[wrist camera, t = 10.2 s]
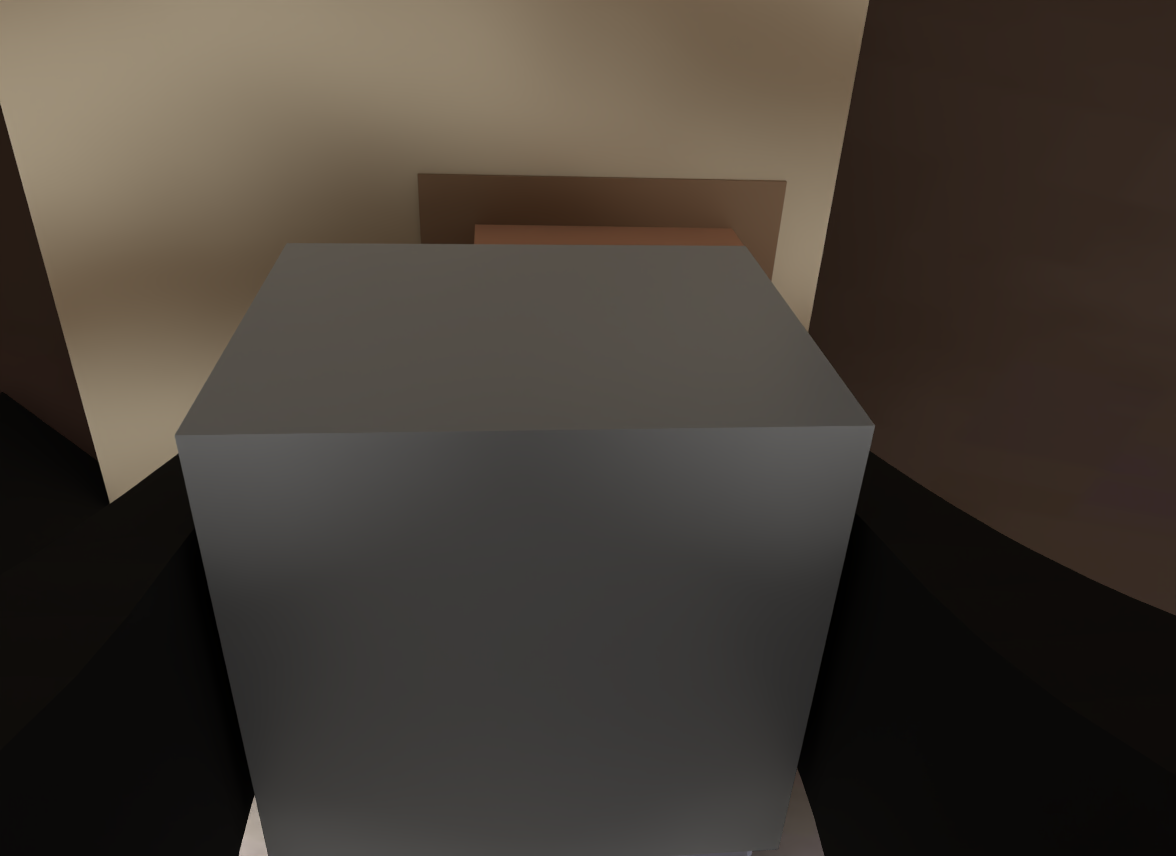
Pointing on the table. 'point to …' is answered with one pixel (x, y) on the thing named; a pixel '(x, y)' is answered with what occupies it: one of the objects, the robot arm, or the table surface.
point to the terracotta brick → (603, 235)
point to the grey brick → (522, 546)
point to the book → (41, 484)
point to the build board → (389, 152)
